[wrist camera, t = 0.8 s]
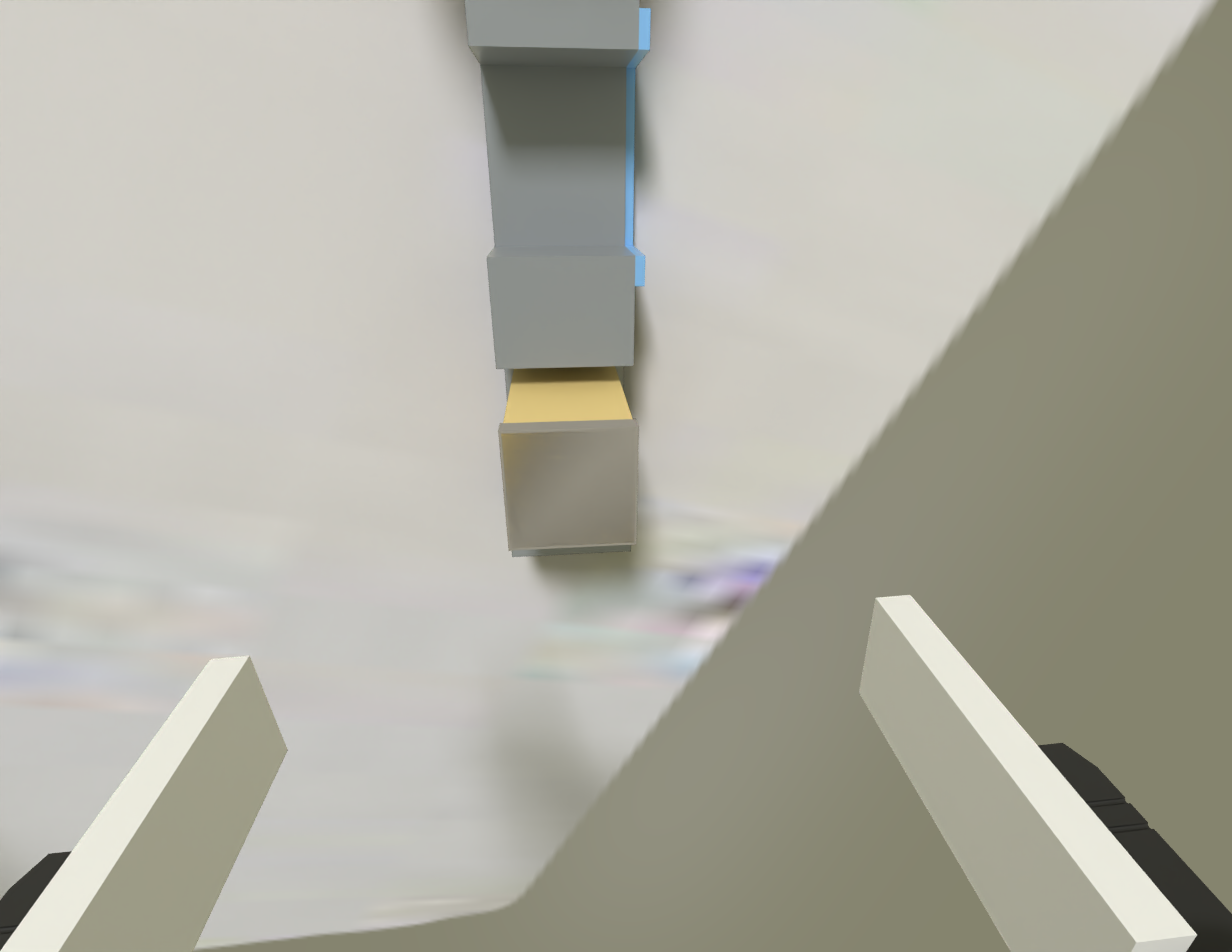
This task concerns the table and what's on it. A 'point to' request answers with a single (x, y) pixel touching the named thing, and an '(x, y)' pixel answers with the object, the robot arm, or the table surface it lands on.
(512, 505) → the tan yellow block
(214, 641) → the table surface
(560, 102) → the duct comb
